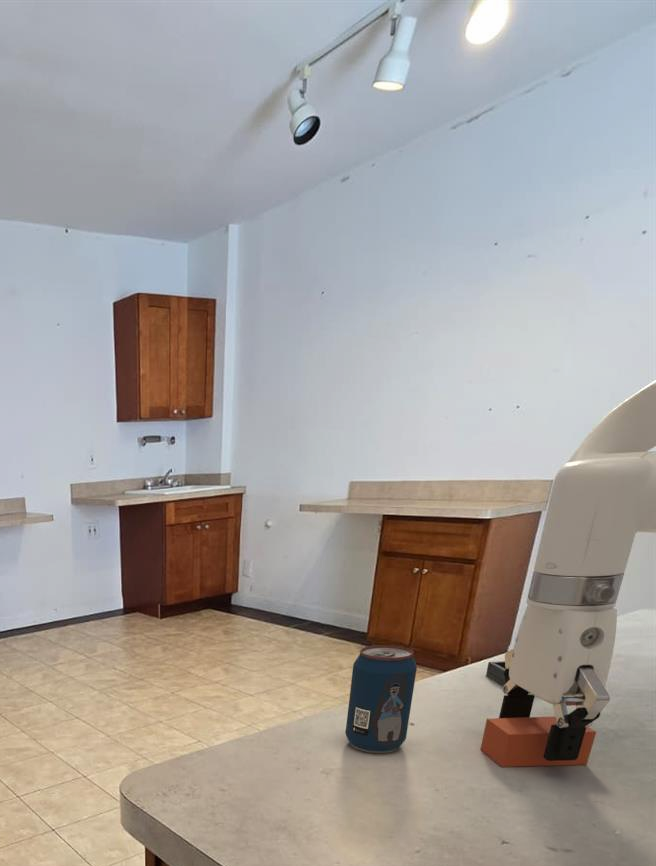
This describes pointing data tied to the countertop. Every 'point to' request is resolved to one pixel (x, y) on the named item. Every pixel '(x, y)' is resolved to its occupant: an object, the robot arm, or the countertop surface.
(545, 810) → the countertop surface
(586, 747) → the red brick
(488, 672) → the black rectangular tray
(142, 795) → the countertop surface
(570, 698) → the robot arm
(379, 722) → the soda can
